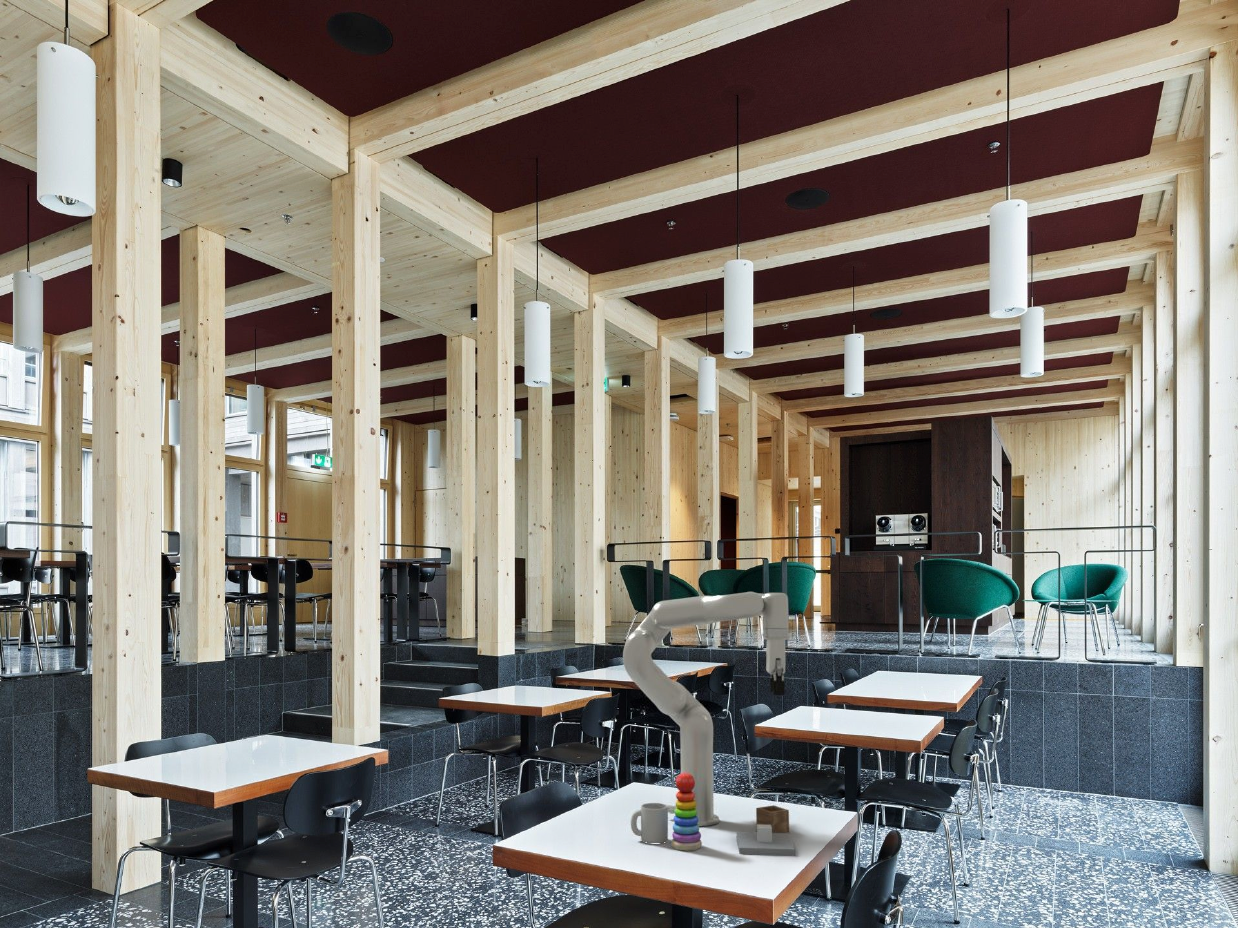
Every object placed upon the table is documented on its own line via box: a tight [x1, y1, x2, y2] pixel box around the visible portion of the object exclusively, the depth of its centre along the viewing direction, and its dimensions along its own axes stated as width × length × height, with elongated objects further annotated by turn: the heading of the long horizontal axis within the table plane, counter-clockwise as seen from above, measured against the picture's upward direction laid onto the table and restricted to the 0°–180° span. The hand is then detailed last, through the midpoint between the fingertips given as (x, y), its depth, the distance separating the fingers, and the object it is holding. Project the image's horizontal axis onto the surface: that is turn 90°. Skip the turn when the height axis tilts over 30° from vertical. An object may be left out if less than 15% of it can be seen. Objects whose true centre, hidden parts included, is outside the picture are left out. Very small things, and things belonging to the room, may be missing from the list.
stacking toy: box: [671, 772, 703, 851], centre depth 227 cm, size 8×8×19 cm
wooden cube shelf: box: [755, 805, 790, 834], centre depth 242 cm, size 6×6×6 cm
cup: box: [630, 802, 669, 844], centre depth 232 cm, size 7×10×9 cm
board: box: [735, 824, 796, 856], centre depth 227 cm, size 14×15×5 cm
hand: (777, 693), depth 256 cm, fingers open, 9 cm apart
